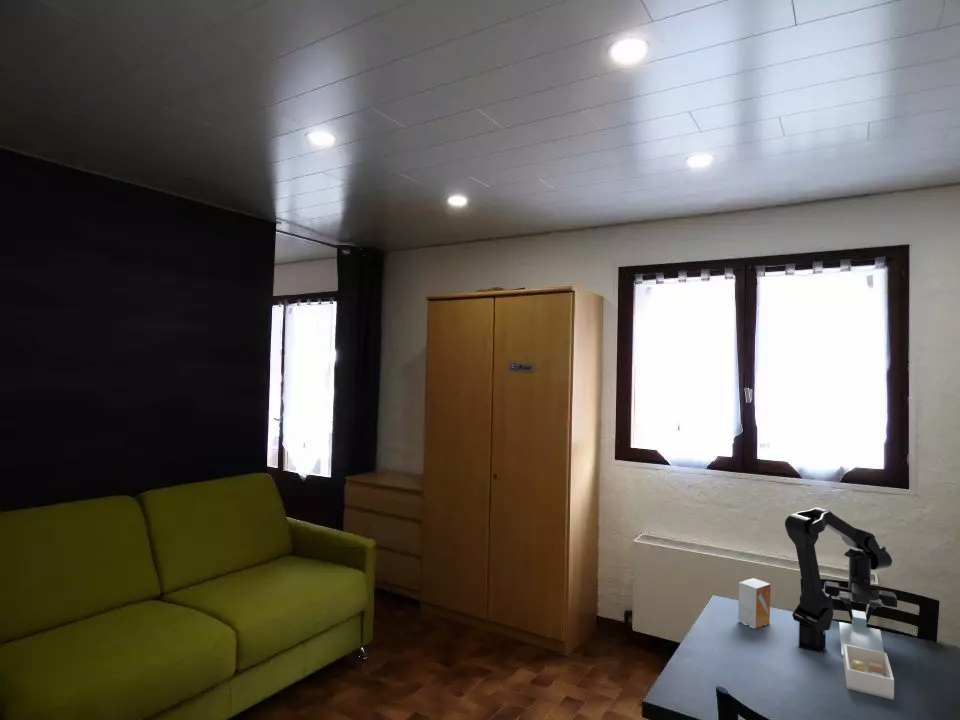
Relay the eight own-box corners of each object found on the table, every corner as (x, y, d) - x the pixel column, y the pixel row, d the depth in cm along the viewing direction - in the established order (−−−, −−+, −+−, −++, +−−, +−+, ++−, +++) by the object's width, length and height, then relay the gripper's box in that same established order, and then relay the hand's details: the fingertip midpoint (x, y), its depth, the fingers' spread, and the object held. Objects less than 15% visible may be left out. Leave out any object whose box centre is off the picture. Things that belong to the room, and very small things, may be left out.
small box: (755, 629, 185) (756, 588, 185) (737, 622, 190) (738, 582, 191) (770, 624, 190) (771, 583, 190) (752, 616, 195) (752, 577, 195)
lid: (841, 656, 169) (841, 645, 169) (838, 617, 187) (838, 607, 186) (886, 666, 164) (886, 655, 163) (878, 625, 181) (879, 614, 181)
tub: (846, 688, 152) (847, 669, 152) (843, 661, 166) (843, 643, 166) (893, 700, 147) (894, 680, 147) (886, 671, 161) (886, 653, 161)
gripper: (825, 573, 180) (824, 624, 180) (900, 585, 171) (899, 639, 171) (824, 562, 189) (823, 611, 189) (895, 573, 180) (894, 624, 180)
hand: (858, 621), depth 182 cm, fingers closed on lid, 3 cm apart
